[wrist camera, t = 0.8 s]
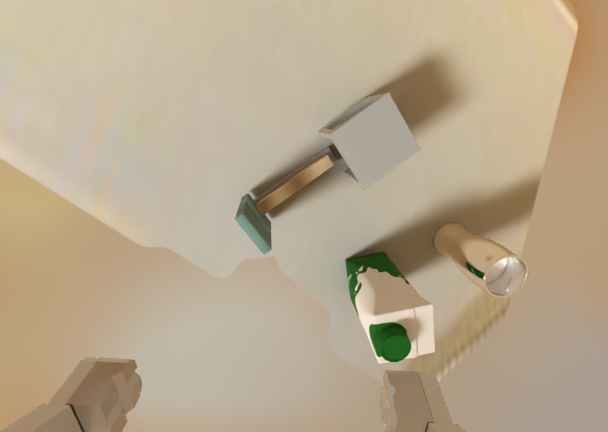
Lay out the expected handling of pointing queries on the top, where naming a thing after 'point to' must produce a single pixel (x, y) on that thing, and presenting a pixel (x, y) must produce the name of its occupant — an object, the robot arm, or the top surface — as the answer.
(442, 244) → the beer glass
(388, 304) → the milk carton
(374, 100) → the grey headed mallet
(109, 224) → the top surface
